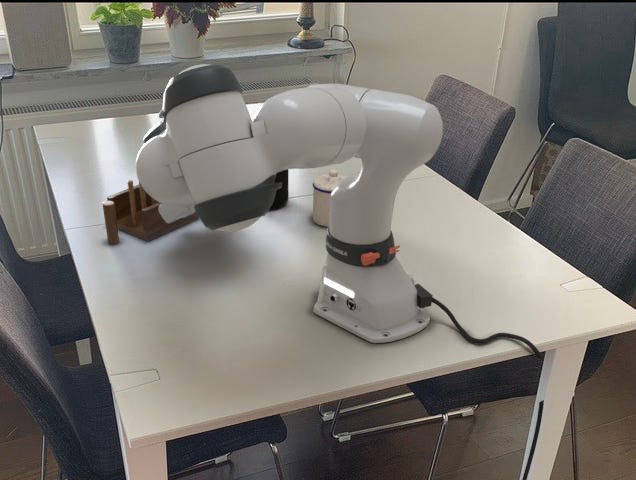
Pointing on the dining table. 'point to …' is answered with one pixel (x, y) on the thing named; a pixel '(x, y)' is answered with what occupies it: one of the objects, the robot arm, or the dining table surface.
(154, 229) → the plate rack
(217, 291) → the dining table surface
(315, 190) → the teacup with lid
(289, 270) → the dining table surface
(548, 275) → the dining table surface
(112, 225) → the marker posts
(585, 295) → the dining table surface
